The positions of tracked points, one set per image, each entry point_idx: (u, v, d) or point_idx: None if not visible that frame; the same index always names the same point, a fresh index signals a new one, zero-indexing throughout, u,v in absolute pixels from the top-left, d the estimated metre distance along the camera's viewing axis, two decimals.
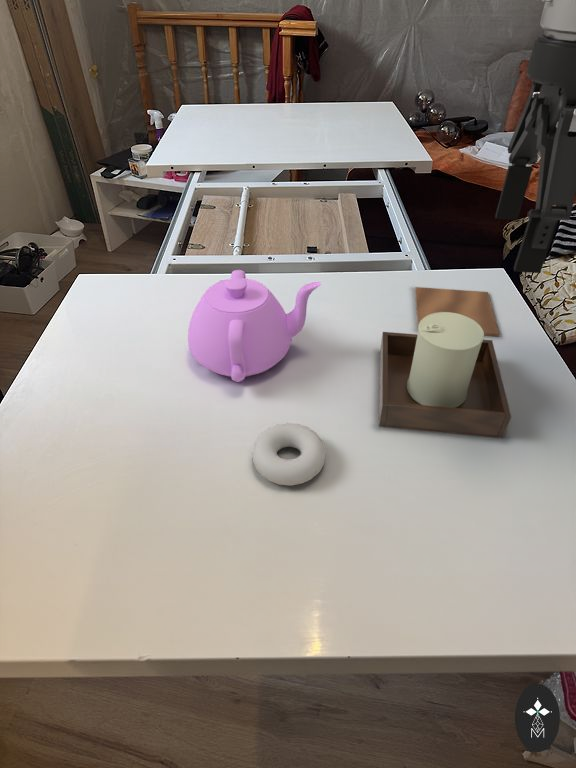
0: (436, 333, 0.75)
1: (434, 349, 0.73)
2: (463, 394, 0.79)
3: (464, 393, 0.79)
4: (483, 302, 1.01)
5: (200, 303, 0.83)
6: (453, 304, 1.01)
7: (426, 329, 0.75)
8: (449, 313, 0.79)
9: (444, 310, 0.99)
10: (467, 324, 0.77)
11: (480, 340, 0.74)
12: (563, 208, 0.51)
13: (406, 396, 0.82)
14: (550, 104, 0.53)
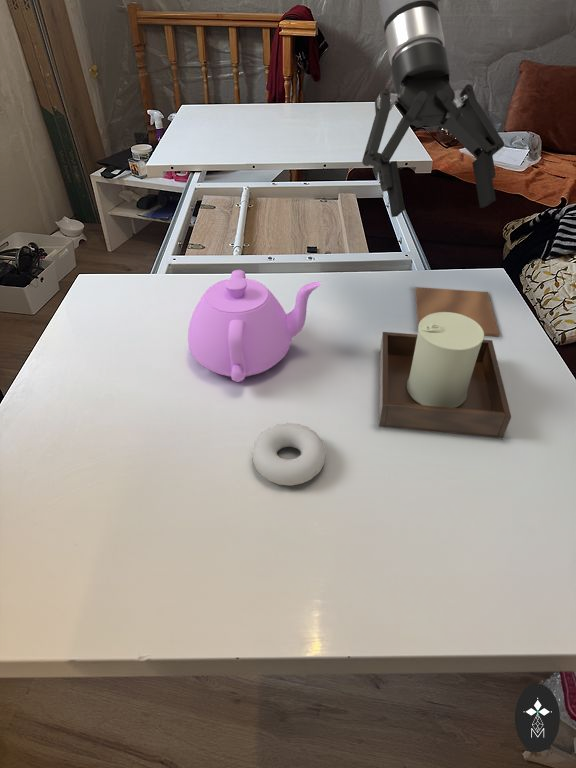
0: (436, 333, 0.75)
1: (434, 349, 0.73)
2: (463, 394, 0.79)
3: (464, 393, 0.79)
4: (483, 302, 1.01)
5: (200, 303, 0.83)
6: (453, 304, 1.01)
7: (426, 329, 0.75)
8: (449, 313, 0.79)
9: (444, 310, 0.99)
10: (467, 324, 0.77)
11: (480, 340, 0.74)
12: None
13: (406, 396, 0.82)
14: None
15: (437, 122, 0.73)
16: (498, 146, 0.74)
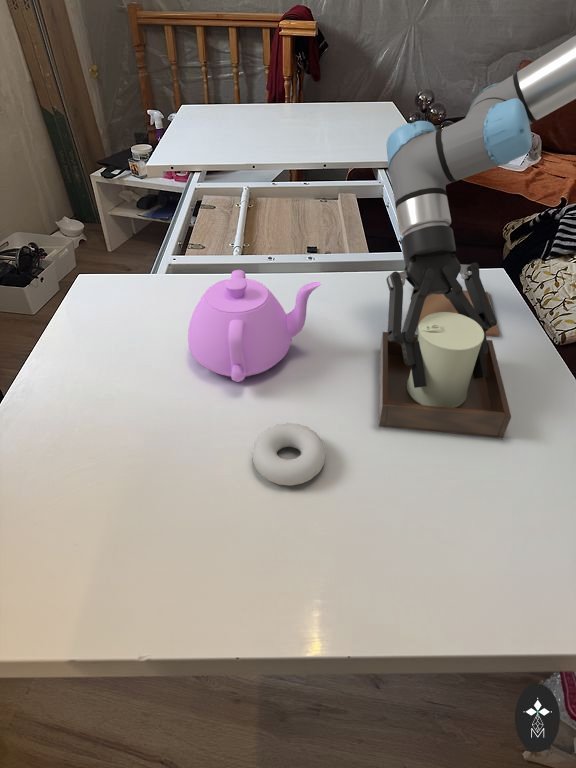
0: (436, 333, 0.75)
1: (434, 349, 0.73)
2: (463, 394, 0.79)
3: (464, 393, 0.79)
4: None
5: (200, 303, 0.83)
6: None
7: (426, 329, 0.75)
8: (449, 313, 0.79)
9: (444, 310, 0.99)
10: (467, 324, 0.77)
11: (480, 340, 0.74)
12: None
13: (406, 396, 0.82)
14: None
15: (444, 292, 0.79)
16: (490, 324, 0.78)
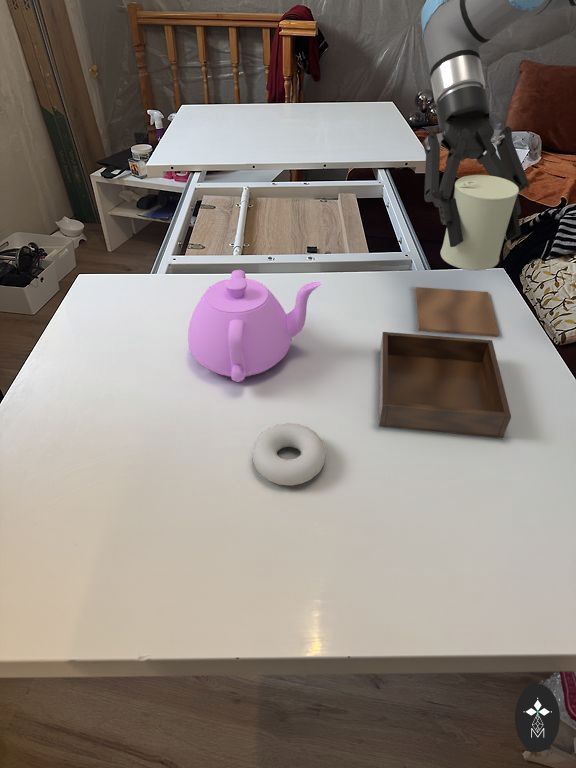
0: (472, 189, 0.78)
1: (471, 200, 0.77)
2: (496, 254, 0.83)
3: (497, 254, 0.83)
4: (483, 302, 1.01)
5: (200, 303, 0.83)
6: (453, 304, 1.01)
7: (463, 185, 0.78)
8: (483, 175, 0.82)
9: (444, 310, 0.99)
10: (502, 182, 0.80)
11: (515, 192, 0.77)
12: None
13: (406, 396, 0.82)
14: None
15: (478, 155, 0.82)
16: (523, 185, 0.81)
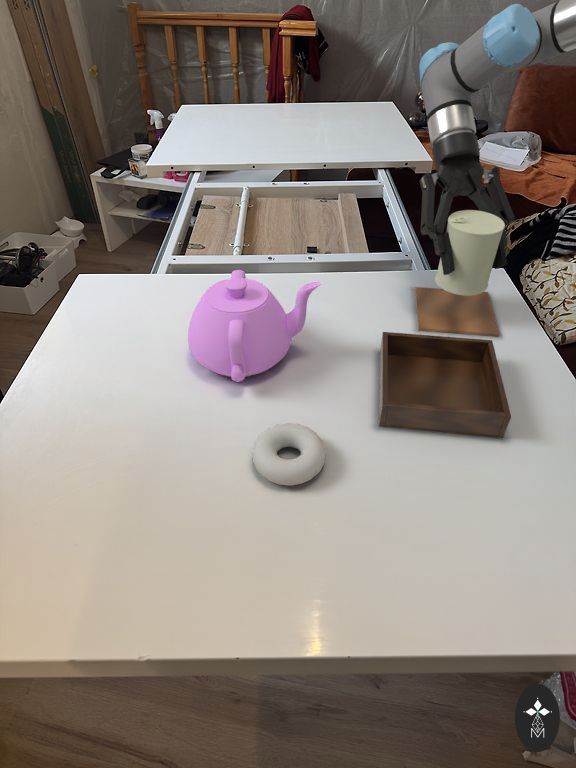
0: (463, 224, 0.87)
1: (462, 235, 0.86)
2: (485, 281, 0.92)
3: (486, 281, 0.92)
4: (483, 302, 1.01)
5: (200, 303, 0.83)
6: (453, 304, 1.01)
7: (455, 220, 0.88)
8: (473, 211, 0.91)
9: (444, 310, 0.99)
10: (490, 218, 0.89)
11: (501, 228, 0.86)
12: None
13: (406, 396, 0.82)
14: None
15: (469, 192, 0.91)
16: (509, 220, 0.91)
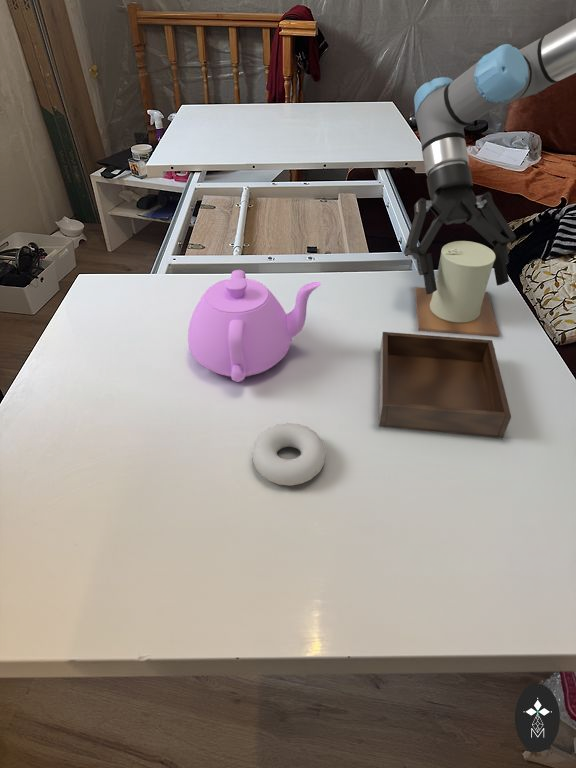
0: (456, 255, 0.91)
1: (455, 267, 0.90)
2: (477, 309, 0.96)
3: (478, 308, 0.96)
4: (483, 302, 1.01)
5: (200, 303, 0.83)
6: None
7: (448, 252, 0.92)
8: (466, 241, 0.95)
9: None
10: (481, 249, 0.93)
11: (492, 260, 0.90)
12: None
13: (406, 396, 0.82)
14: None
15: (463, 221, 0.95)
16: (511, 239, 0.94)
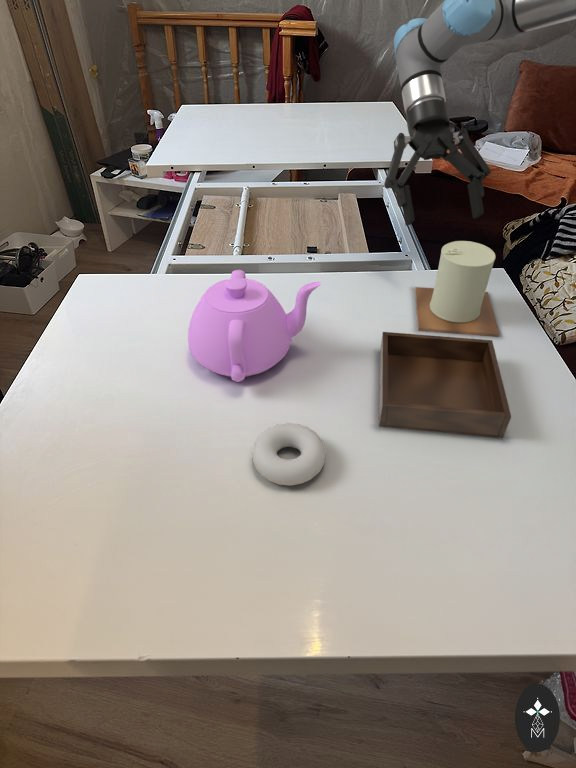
0: (456, 255, 0.91)
1: (455, 267, 0.90)
2: (477, 309, 0.96)
3: (478, 308, 0.96)
4: (483, 302, 1.01)
5: (200, 303, 0.83)
6: None
7: (448, 252, 0.92)
8: (466, 241, 0.95)
9: None
10: (481, 249, 0.93)
11: (492, 260, 0.90)
12: None
13: (406, 396, 0.82)
14: None
15: (440, 156, 0.99)
16: (486, 173, 0.99)
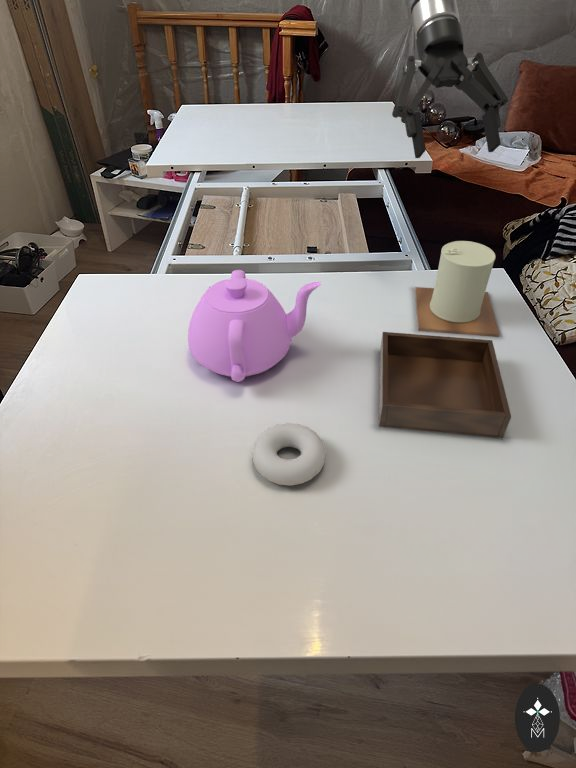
0: (456, 255, 0.91)
1: (455, 267, 0.90)
2: (477, 309, 0.96)
3: (478, 308, 0.96)
4: (483, 302, 1.01)
5: (200, 303, 0.83)
6: None
7: (448, 252, 0.92)
8: (466, 241, 0.95)
9: None
10: (481, 249, 0.93)
11: (492, 260, 0.90)
12: None
13: (406, 396, 0.82)
14: None
15: (453, 83, 0.91)
16: (503, 101, 0.91)
